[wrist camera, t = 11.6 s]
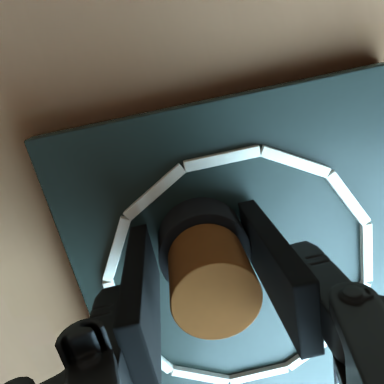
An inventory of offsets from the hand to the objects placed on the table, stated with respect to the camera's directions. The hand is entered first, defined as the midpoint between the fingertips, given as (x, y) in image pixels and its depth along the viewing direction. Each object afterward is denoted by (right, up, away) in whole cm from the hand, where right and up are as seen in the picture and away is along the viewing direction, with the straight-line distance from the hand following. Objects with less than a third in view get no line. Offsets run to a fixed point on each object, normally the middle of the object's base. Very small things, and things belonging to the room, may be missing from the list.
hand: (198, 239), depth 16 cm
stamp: (0, 0, 0) cm, 0 cm away
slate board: (+2, -2, +2) cm, 4 cm away
